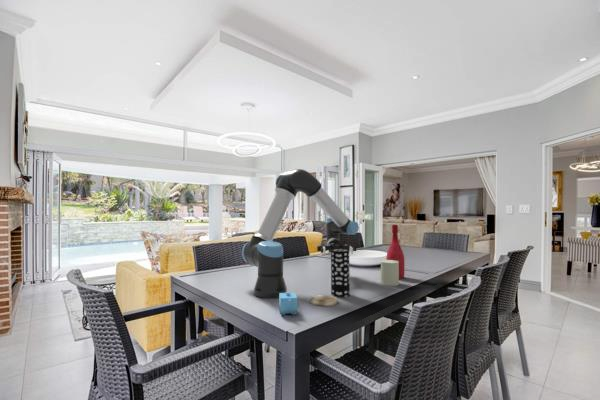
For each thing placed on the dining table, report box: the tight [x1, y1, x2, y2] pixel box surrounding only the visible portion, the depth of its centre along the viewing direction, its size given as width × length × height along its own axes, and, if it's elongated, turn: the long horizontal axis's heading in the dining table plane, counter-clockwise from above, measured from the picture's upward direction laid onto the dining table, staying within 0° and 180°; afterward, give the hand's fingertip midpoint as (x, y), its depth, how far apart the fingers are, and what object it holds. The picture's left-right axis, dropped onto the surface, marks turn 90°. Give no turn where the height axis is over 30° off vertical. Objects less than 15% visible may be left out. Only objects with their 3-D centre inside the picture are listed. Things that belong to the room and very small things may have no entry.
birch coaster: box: [310, 294, 338, 307], centre depth 125 cm, size 11×11×1 cm
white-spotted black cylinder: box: [330, 249, 351, 298], centre depth 136 cm, size 8×8×20 cm
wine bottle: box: [385, 224, 406, 280], centre depth 170 cm, size 10×10×30 cm
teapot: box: [278, 291, 298, 316], centre depth 111 cm, size 12×6×8 cm, turn 8°
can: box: [380, 259, 400, 287], centre depth 156 cm, size 9×9×12 cm
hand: (338, 250), depth 147 cm, fingers open, 13 cm apart
